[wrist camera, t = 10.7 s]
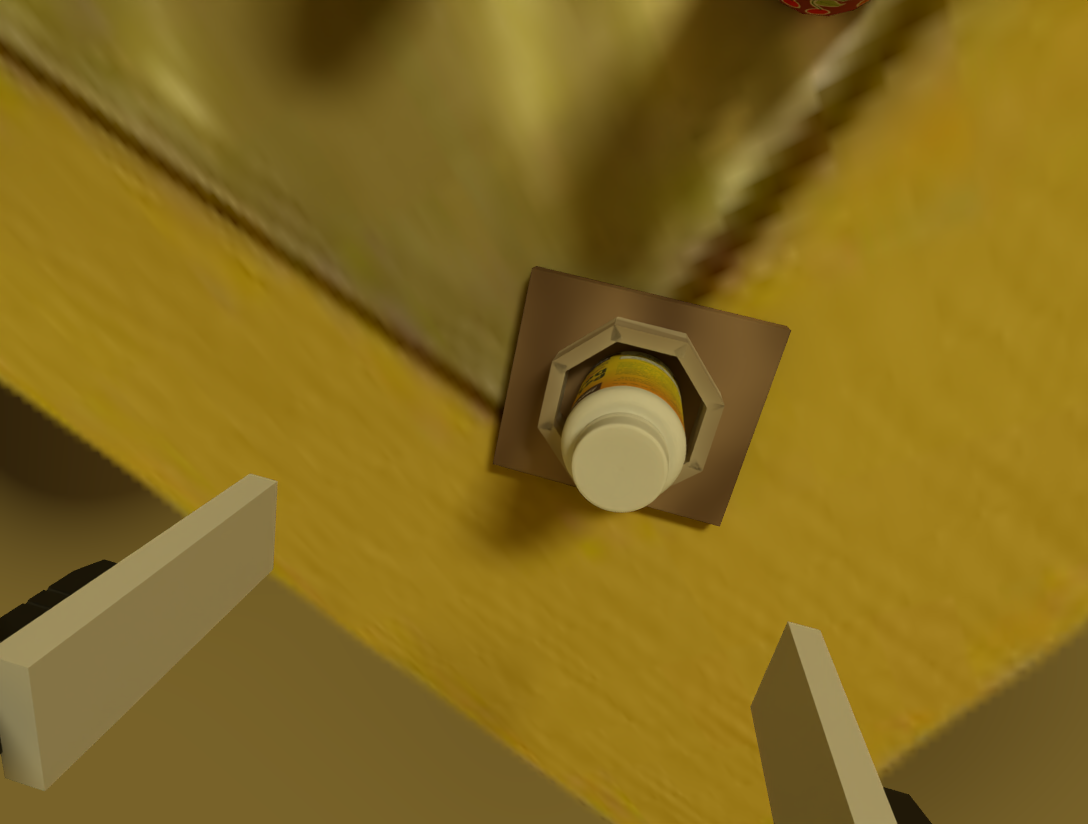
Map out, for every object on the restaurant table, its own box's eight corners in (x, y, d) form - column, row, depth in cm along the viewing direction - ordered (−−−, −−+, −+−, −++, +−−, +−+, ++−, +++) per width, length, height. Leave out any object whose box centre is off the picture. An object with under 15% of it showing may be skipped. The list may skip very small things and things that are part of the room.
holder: (497, 456, 38) (481, 481, 34) (536, 266, 34) (522, 272, 30) (717, 516, 36) (724, 548, 33) (786, 326, 32) (801, 339, 29)
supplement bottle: (605, 331, 33) (584, 381, 23) (698, 374, 33) (715, 440, 23) (565, 418, 35) (531, 496, 25) (652, 458, 35) (651, 552, 25)
